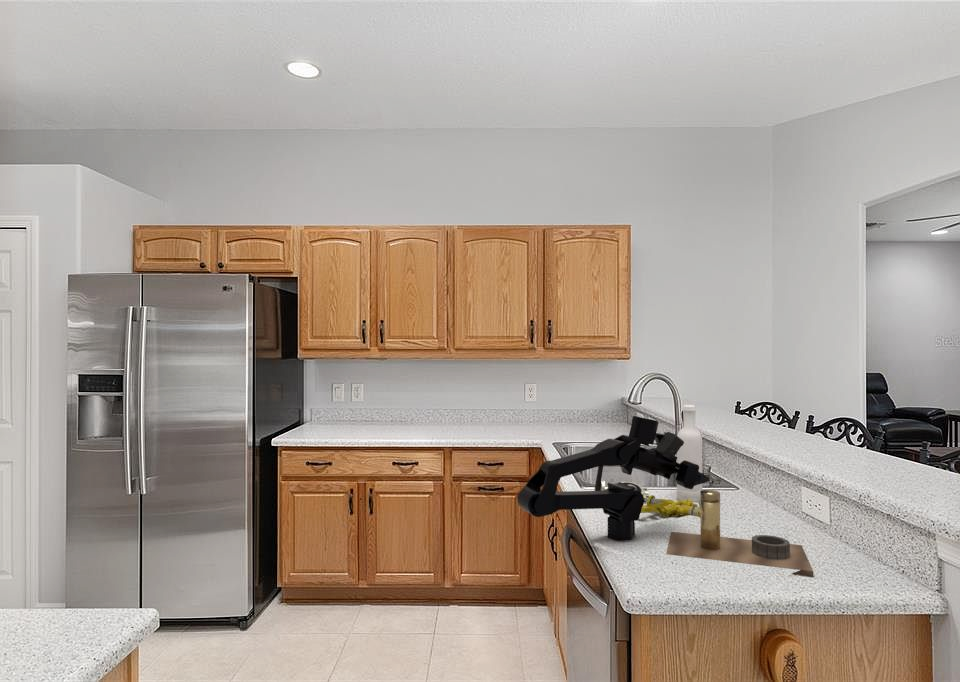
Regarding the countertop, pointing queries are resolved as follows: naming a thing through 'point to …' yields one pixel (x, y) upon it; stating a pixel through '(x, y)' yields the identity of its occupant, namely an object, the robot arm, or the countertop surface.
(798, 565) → the board
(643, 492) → the butterfly valve
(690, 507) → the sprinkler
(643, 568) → the countertop surface
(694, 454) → the bottle
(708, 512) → the brass fitting
